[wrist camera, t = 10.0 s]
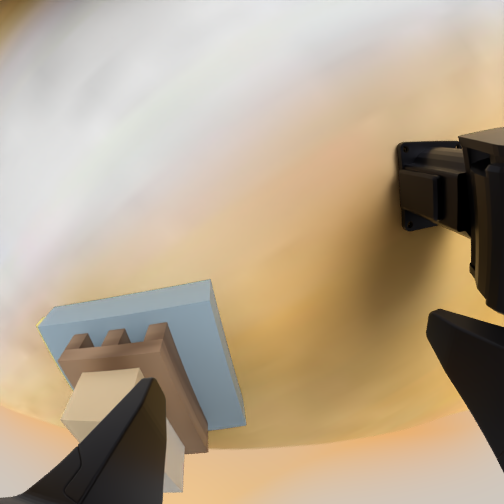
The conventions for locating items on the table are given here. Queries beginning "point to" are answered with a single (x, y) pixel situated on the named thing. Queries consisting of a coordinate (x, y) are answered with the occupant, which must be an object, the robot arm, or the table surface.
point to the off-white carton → (173, 462)
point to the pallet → (145, 374)
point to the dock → (183, 332)
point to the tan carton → (97, 398)
